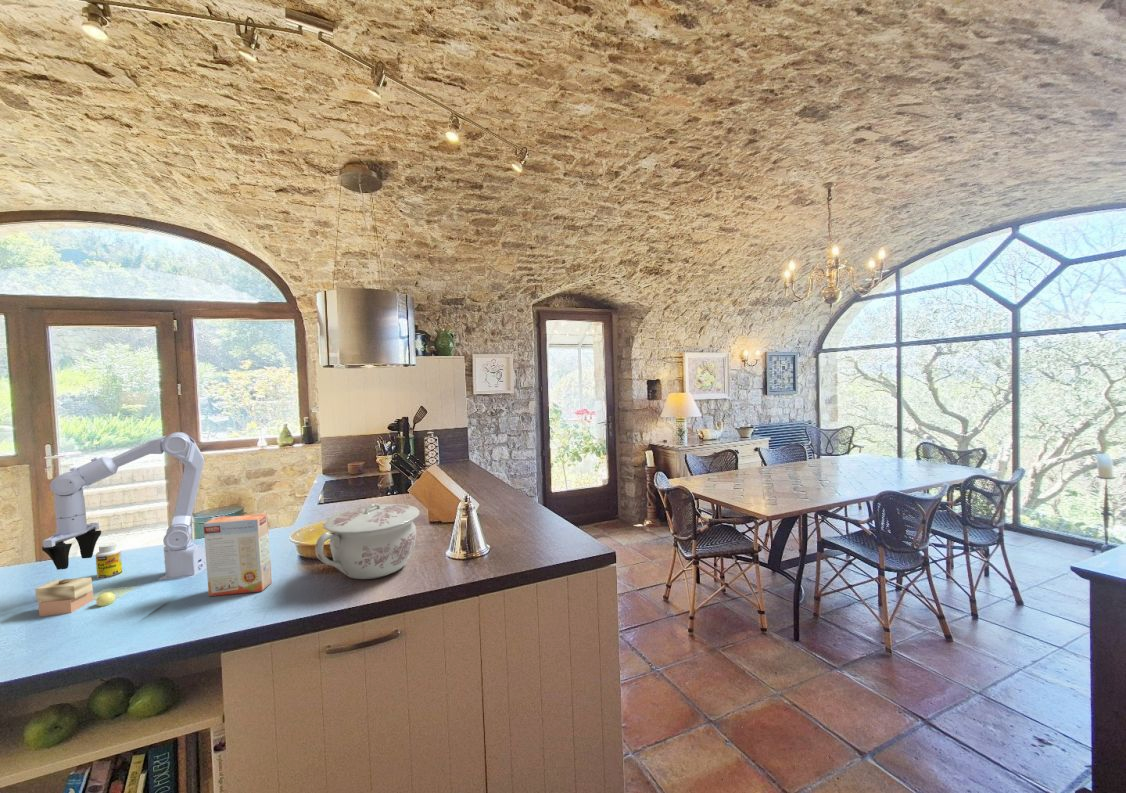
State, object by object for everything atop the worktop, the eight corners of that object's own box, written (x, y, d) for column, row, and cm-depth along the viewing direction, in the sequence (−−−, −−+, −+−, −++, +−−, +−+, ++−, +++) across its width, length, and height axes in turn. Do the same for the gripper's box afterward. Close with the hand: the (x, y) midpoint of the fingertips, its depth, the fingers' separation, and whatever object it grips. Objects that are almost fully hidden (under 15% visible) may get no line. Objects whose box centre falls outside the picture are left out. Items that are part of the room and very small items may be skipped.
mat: (139, 587, 133) (139, 585, 133) (119, 599, 127) (119, 597, 127) (104, 590, 132) (104, 588, 132) (82, 602, 125) (82, 600, 125)
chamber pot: (422, 547, 158) (419, 488, 157) (423, 581, 132) (419, 510, 131) (332, 560, 150) (329, 497, 149) (315, 598, 123) (310, 523, 122)
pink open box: (93, 601, 126) (92, 587, 125) (71, 614, 119) (70, 599, 119) (63, 605, 124) (62, 590, 124) (39, 618, 118) (38, 603, 117)
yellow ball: (119, 602, 125) (118, 589, 125) (108, 608, 121) (107, 595, 121) (104, 603, 125) (103, 590, 124) (93, 610, 121) (91, 596, 121)
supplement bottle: (94, 582, 138) (91, 549, 138) (101, 576, 143) (98, 543, 142) (119, 577, 141) (116, 545, 140) (125, 571, 146) (122, 540, 145)
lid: (92, 589, 124) (91, 575, 124) (75, 598, 119) (73, 583, 119) (55, 592, 123) (54, 577, 123) (36, 601, 118) (35, 586, 118)
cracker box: (272, 582, 134) (268, 512, 133) (262, 592, 128) (257, 519, 127) (221, 587, 132) (216, 516, 131) (207, 597, 126) (202, 522, 125)
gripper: (78, 509, 134) (82, 554, 135) (28, 525, 120) (32, 575, 120) (105, 507, 135) (109, 552, 136) (58, 522, 121) (63, 573, 121)
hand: (75, 563), depth 128 cm, fingers open, 7 cm apart
